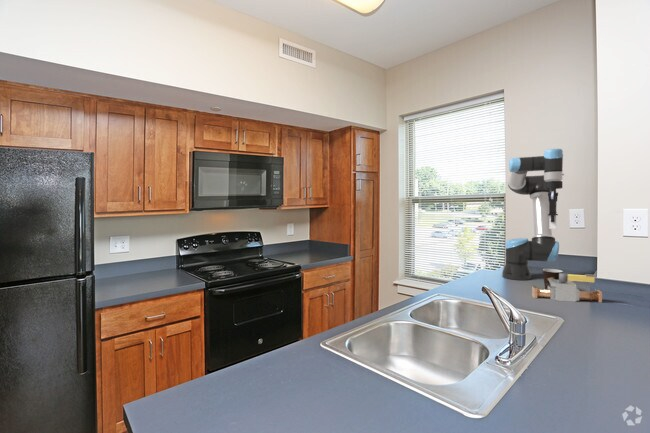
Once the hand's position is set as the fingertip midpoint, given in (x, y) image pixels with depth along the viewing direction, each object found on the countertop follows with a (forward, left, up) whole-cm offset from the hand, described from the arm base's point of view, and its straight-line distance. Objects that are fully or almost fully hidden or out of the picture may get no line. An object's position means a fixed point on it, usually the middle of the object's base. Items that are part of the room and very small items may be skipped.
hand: (552, 228), depth 164 cm
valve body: (+9, +2, -32) cm, 34 cm away
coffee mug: (-6, +3, -33) cm, 33 cm away
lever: (+10, +7, -24) cm, 27 cm away
